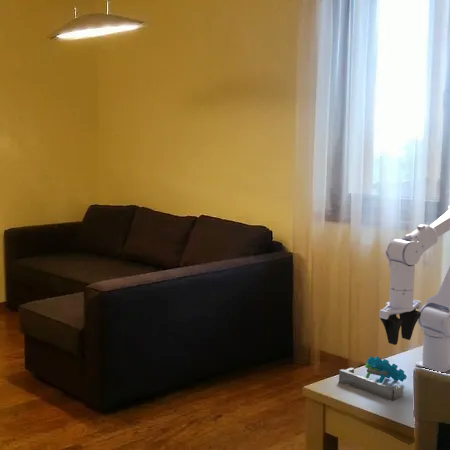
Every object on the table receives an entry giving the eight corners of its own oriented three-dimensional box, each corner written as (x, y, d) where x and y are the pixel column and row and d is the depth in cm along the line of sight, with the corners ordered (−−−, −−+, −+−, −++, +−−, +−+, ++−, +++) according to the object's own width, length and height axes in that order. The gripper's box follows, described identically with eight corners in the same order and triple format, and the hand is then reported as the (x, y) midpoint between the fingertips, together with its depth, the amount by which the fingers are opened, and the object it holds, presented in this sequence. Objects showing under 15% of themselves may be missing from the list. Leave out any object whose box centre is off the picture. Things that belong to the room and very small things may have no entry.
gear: (415, 379, 166) (393, 357, 161) (405, 401, 163) (383, 378, 159) (380, 372, 175) (359, 350, 170) (370, 392, 172) (348, 370, 168)
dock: (350, 377, 172) (351, 365, 171) (402, 396, 160) (403, 384, 159) (338, 381, 169) (339, 370, 168) (391, 401, 157) (391, 388, 157)
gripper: (405, 280, 176) (403, 331, 178) (370, 289, 166) (368, 343, 168) (429, 285, 170) (426, 338, 172) (394, 295, 161) (392, 350, 163)
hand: (399, 341), depth 170 cm, fingers open, 5 cm apart
